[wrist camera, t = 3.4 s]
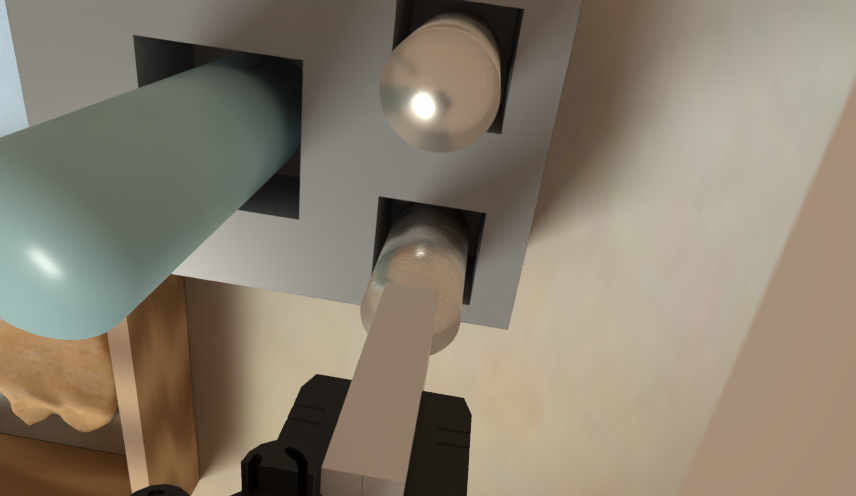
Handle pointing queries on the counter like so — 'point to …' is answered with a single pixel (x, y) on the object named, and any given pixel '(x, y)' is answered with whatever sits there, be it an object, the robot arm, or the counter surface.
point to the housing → (326, 128)
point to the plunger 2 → (424, 264)
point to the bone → (57, 378)
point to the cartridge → (135, 189)
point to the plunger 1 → (443, 82)
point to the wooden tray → (126, 415)
